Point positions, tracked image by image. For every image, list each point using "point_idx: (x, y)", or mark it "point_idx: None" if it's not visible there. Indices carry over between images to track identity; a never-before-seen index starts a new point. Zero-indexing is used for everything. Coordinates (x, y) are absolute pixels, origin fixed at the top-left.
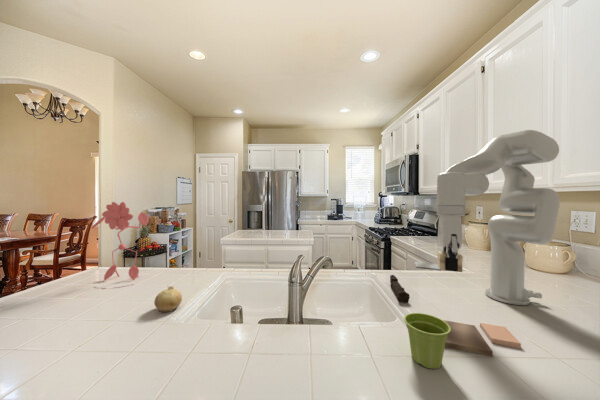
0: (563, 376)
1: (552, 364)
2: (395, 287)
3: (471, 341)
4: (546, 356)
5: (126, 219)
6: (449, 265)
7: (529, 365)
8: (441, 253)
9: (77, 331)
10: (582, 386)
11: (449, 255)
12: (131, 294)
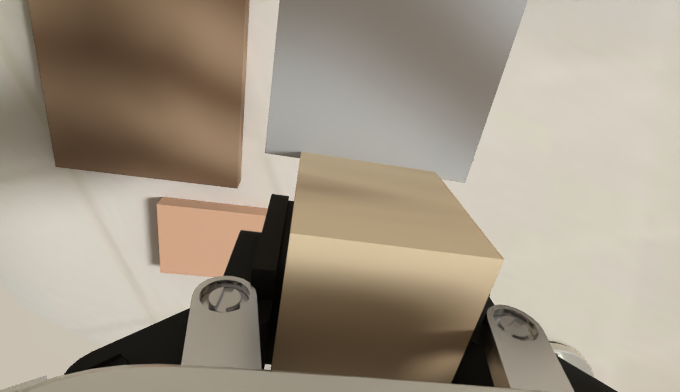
0: (62, 287)
1: (111, 294)
2: None
3: (94, 123)
4: (149, 301)
5: None
6: (236, 244)
7: (73, 239)
8: (332, 266)
9: None
10: (38, 301)
11: (185, 326)
12: None
